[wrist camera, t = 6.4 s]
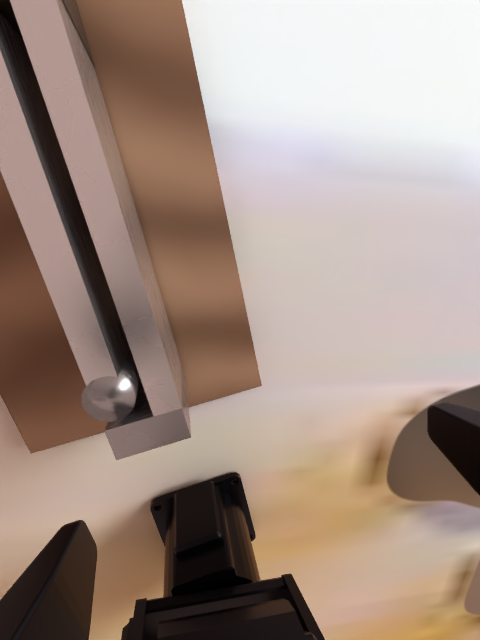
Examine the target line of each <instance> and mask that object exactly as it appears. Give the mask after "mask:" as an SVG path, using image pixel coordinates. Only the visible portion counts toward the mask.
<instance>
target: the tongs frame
mask: <svg viewBox="0 0 480 640" xmlns="http://www.w3.org/2000/svg"><path fill="white" fill-rule="evenodd" d="M10 2H11V5H12V8H13V11H14V14H15V17H16V19H17V22H18V25H19V28H20V31H21V34H22V37H23V40H24V43H25V46H26V48H27V51H28V54H29V57H30V60H31V63H32V66H33V69H34V72H35V74H36V77H37V80H38V83H39V86H40V89H41V92H42V95H43V98H44V101H45V103H46V106H47V109H48V112H49V115H50V118H51V121H52V124H53V127H54V130H55V132H56V135H57V138H58V141H59V144H60V147H61V150H62V153H63V156H64V158H65V161H66V164H67V167H68V170H69V173H70V176H71V179H72V182H73V185H74V187H75V190H76V193H77V196H78V199H79V202H80V205H81V208H82V211H83V214H84V216H85V219H86V222H87V225H88V228H89V231H90V234H91V237H92V240H93V242H94V245H95V248H96V251H97V254H98V257H99V260H100V263H101V266H102V269H103V271H104V274H105V277H106V280H107V283H108V286H109V289H110V292H111V295H112V298H113V300H114V303H115V306H116V309H117V312H118V315H119V318H120V321H121V324H122V326H123V329H124V332H125V335H126V338H127V341H128V344H129V347H130V350H131V353H132V355H133V358H134V361H135V364H136V367H137V370H138V373H139V376H140V379H141V381H140V385H139V389H138V393H137V397H136V401H135V405H134V407H133V409H132V411H131V412H130V413H129V414H128V415H127V416H125V417H124V418H122V419H120V420H117V421H112V422H108V423H107V426H106V428H105V433H106V436H107V438H108V441H109V443H110V445H111V448H112V450H113V453H114V455H115V458H116V460H119V459H122V458H125V457H128V456H132V455H135V454H138V453H141V452H145V451H148V450H151V449H154V448H158V447H161V446H164V445H168V444H171V443H174V442H177V441H181V440H184V439H187V438H190V437H191V430H190V416H189V402H188V388H187V382H186V378H185V375H184V371H183V368H182V364H181V361H180V358H179V354H178V351H177V347H176V344H175V341H174V337H173V334H172V330H171V327H170V324H169V320H168V317H167V313H166V310H165V307H164V303H163V300H162V296H161V293H160V290H159V286H158V283H157V279H156V276H155V272H154V269H153V266H152V262H151V259H150V255H149V252H148V249H147V245H146V242H145V238H144V235H143V232H142V228H141V225H140V221H139V218H138V215H137V211H136V208H135V204H134V201H133V197H132V194H131V191H130V187H129V184H128V180H127V177H126V174H125V170H124V167H123V163H122V160H121V157H120V153H119V150H118V146H117V143H116V140H115V136H114V133H113V129H112V126H111V122H110V119H109V116H108V112H107V109H106V105H105V102H104V99H103V95H102V92H101V88H100V85H99V82H98V78H97V75H96V71H95V68H94V67H95V64H94V60H93V57H92V53H91V50H90V47H89V43H88V40H87V36H86V33H85V30H84V26H83V23H82V19H81V16H80V12H79V9H78V6H77V2H76V0H10Z"/></svg>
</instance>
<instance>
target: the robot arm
mask: <svg viewBox="0 0 480 640" xmlns="http://www.w3.org/2000/svg"><path fill="white" fill-rule="evenodd" d="M427 432H428V435H429V437H430V439H431V440H432V441H433V443H434V444H435V445H436V446H437V447H438V448H439V450H440V451H441V452H442V453H443V454H444V455H445V457H446V458H447V459H448V460H449V461H450V462H451V464H452V465H453V466H454V467H455V468H456V469H457V471H458V472H459V473H460V474H461V475H462V477H464V479H465V480H466V481H467V482H468V483H469V485H470V486H471V487H472V488H473V489H474V490H475V491H476V492H477V493H478V494H479V495H480V411H479V410H475V409H471V408H467V407H463V406H459V405H455V404H451V403H447V402H439V403H436V404H432V405H430V406H428V408H427ZM234 479H236V480H235V481H232V480H234ZM156 505H160V506H156ZM150 509H151V512H152V515H153V518H154V520H155V523H156V525H157V528H158V530H159V533H160V535H161V538H162V540H163V543H164V546H165V568H164V595H163V598H157V599H151V600H147V598H144V599H138V600H136V604H135V610H134V617H133V618H130V621H129V623H128V624H127V625H126V626H125V627H124V628H123V631H122V638H121V640H325V639H324V637H323V635H322V633H321V631H320V629H319V627H318V625H317V623H316V621H315V619H314V617H313V615H312V613H311V611H310V610H309V608H308V606H307V604H306V602H305V600H304V598H303V596H302V594H301V592H300V590H299V588H298V586H297V584H296V582H295V580H294V578H293V576H292V574H285V575H282V576H281V577H279V578H273V579H267V580H260V576H259V572H258V568H257V564H256V560H255V556H254V552H253V548H252V543H251V541H253V540H254V539H255V531H254V527H253V524H252V520H251V516H250V512H249V508H248V504H247V500H246V497H245V493H244V489H243V485H242V481H241V477H240V475H239V474H238V473H236V472H233V473H230V474H227V475H224V476H221V477H218V478H215V479H211V480H208V481H205V482H202V483H199V484H196V485H193V486H190V487H187V488H184V489H181V490H178V491H175V492H172V493H169V494H166V495H163V496H160V497H157V498H155V499H153V500H152V502H151V507H150ZM96 561H97V547H96V544H95V541H94V539H93V537H92V535H91V533H90V531H89V529H88V527H87V525H86V523H85V522H84V521H83V520H78V521H75V522H72V523H69V524H66V525H64V526H63V527H61V528H60V530H59V531H58V532H57V533H56V534H55V535H54V537H53V538H52V539H51V540H50V541H49V543H48V544H47V545H46V546H45V547H44V549H43V550H42V551H41V552H40V553H39V555H38V556H37V557H36V558H35V559H34V560H33V562H32V563H31V564H30V565H29V566H28V568H27V569H26V570H25V571H24V572H23V574H22V575H21V576H20V577H19V578H18V580H17V581H16V582H15V583H14V584H13V586H12V587H11V588H10V589H9V590H8V591H7V593H6V594H5V595H4V596H3V597H2V599H1V600H0V640H88V639H89V630H90V622H91V612H92V601H93V591H94V581H95V571H96Z"/></svg>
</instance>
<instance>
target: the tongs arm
mask: <svg viewBox="0 0 480 640" xmlns="http://www.w3.org/2000/svg"><path fill="white" fill-rule="evenodd" d="M0 171H1V173H2V176H3V178H4V181H5V183H6V186H7V188H8V191H9V193H10V196H11V198H12V201H13V203H14V206H15V208H16V211H17V214H18V216H19V219H20V221H21V224H22V226H23V229H24V231H25V234H26V236H27V239H28V241H29V244H30V246H31V249H32V251H33V254H34V256H35V259H36V261H37V264H38V266H39V269H40V271H41V274H42V276H43V279H44V281H45V284H46V286H47V289H48V291H49V294H50V296H51V299H52V301H53V304H54V306H55V309H56V311H57V314H58V316H59V319H60V321H61V324H62V326H63V329H64V331H65V334H66V336H67V339H68V341H69V344H70V346H71V349H72V351H73V354H74V357H75V359H76V362H77V364H78V367H79V369H80V372H81V374H82V377H83V379H84V382H85V384H86V387H85V388H84V390H83V393H82V397H81V401H82V406H83V408H84V410H85V411H86V412H87V413H88V414H89V415H90V416H91V417H93V418H94V419H97V420H100V421H105V422H112V421H117V420H120V419H122V418H124V417H125V416H127V415H128V414H129V413H130V412H131V411H132V409H133V407H134V405H135V401H136V397H137V393H138V389H139V385H140V381H141V379H140V376H139V373H138V370H137V367H136V364H135V361H134V358H133V355H132V353H131V350H130V347H129V344H128V341H127V338H126V335H125V332H124V329H123V326H122V324H121V321H120V318H119V315H118V312H117V309H116V306H115V303H114V300H113V298H112V295H111V292H110V289H109V286H108V283H107V280H106V277H105V274H104V271H103V269H102V266H101V263H100V260H99V257H98V254H97V251H96V248H95V245H94V242H93V240H92V237H91V234H90V231H89V228H88V225H87V222H86V219H85V216H84V214H83V211H82V208H81V205H80V202H79V199H78V196H77V193H76V190H75V187H74V185H73V182H72V179H71V176H70V173H69V170H68V167H67V164H66V161H65V158H64V156H63V153H62V150H61V147H60V144H59V141H58V138H57V135H56V132H55V130H54V127H53V124H52V121H51V118H50V115H49V112H48V109H47V106H46V103H45V101H44V98H43V95H42V92H41V89H40V86H39V83H38V80H37V77H36V74H35V72H34V69H33V66H32V63H31V60H30V57H29V54H28V51H27V48H26V46H25V43H24V40H23V37H22V34H21V31H20V28H19V25H18V22H17V19H16V17H15V14H14V11H13V8H12V5H11V2H10V0H0Z"/></svg>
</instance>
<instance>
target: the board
mask: <svg viewBox="0 0 480 640" xmlns="http://www.w3.org/2000/svg"><path fill="white" fill-rule="evenodd" d="M76 2H77V6H78V9H79V12H80V16H81V19H82V23H83V26H84V30H85V33H86V36H87V40H88V43H89V47H90V50H91V53H92V57H93V60H94V64H95V67H94V68H95V71H96V75H97V78H98V82H99V85H100V88H101V92H102V95H103V99H104V102H105V105H106V109H107V112H108V116H109V119H110V122H111V126H112V129H113V133H114V136H115V140H116V143H117V146H118V150H119V153H120V157H121V160H122V163H123V167H124V170H125V174H126V177H127V180H128V184H129V187H130V191H131V194H132V197H133V201H134V204H135V208H136V211H137V215H138V218H139V221H140V225H141V228H142V232H143V235H144V238H145V242H146V245H147V249H148V252H149V255H150V259H151V262H152V266H153V269H154V272H155V276H156V279H157V283H158V286H159V290H160V293H161V296H162V300H163V303H164V307H165V310H166V313H167V317H168V320H169V324H170V327H171V330H172V334H173V337H174V341H175V344H176V347H177V351H178V354H179V358H180V361H181V364H182V368H183V371H184V375H185V378H186V382H187V388H188V402H189V407H191V406H194V405H198V404H201V403H205V402H208V401H211V400H215V399H218V398H222V397H225V396H228V395H232V394H235V393H239V392H242V391H245V390H249V389H252V388H256V387H259V386H262V385H261V380H260V375H259V370H258V365H257V361H256V356H255V351H254V346H253V341H252V337H251V332H250V327H249V322H248V317H247V313H246V308H245V303H244V298H243V293H242V288H241V284H240V279H239V274H238V269H237V264H236V260H235V255H234V250H233V245H232V240H231V235H230V231H229V226H228V221H227V216H226V211H225V207H224V202H223V197H222V192H221V187H220V182H219V178H218V173H217V168H216V163H215V158H214V154H213V149H212V144H211V139H210V134H209V130H208V125H207V120H206V115H205V110H204V105H203V101H202V96H201V91H200V86H199V81H198V77H197V72H196V67H195V62H194V57H193V52H192V48H191V43H190V38H189V33H188V28H187V24H186V19H185V14H184V9H183V4H182V0H76ZM85 387H86V384H85V382H84V379H83V377H82V374H81V372H80V369H79V367H78V364H77V362H76V359H75V357H74V354H73V351H72V349H71V346H70V344H69V341H68V339H67V336H66V334H65V331H64V329H63V326H62V324H61V321H60V319H59V316H58V314H57V311H56V309H55V306H54V304H53V301H52V299H51V296H50V294H49V291H48V289H47V286H46V284H45V281H44V279H43V276H42V274H41V271H40V269H39V266H38V264H37V261H36V259H35V256H34V254H33V251H32V249H31V246H30V244H29V241H28V239H27V236H26V234H25V231H24V229H23V226H22V224H21V221H20V219H19V216H18V214H17V211H16V208H15V206H14V203H13V201H12V198H11V196H10V193H9V191H8V188H7V186H6V183H5V181H4V178H3V176H2V173H1V171H0V395H1V397H2V398H3V400H4V402H5V404H6V406H7V408H8V410H9V412H10V414H11V416H12V418H13V420H14V422H15V424H16V426H17V428H18V429H19V431H20V433H21V435H22V437H23V439H24V441H25V443H26V445H27V447H28V449H29V451H30V453H34V452H38V451H41V450H44V449H48V448H51V447H55V446H58V445H61V444H65V443H68V442H72V441H75V440H78V439H82V438H85V437H89V436H92V435H96V434H99V433H102V432H105V428H106V426H107V423H108V422H105V421H100V420H97V419H94V418H93V417H91V416H90V415H89V414H88V413H87V412H86V411H85V410H84V408H83V406H82V401H81V397H82V393H83V390H84V388H85Z"/></svg>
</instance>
